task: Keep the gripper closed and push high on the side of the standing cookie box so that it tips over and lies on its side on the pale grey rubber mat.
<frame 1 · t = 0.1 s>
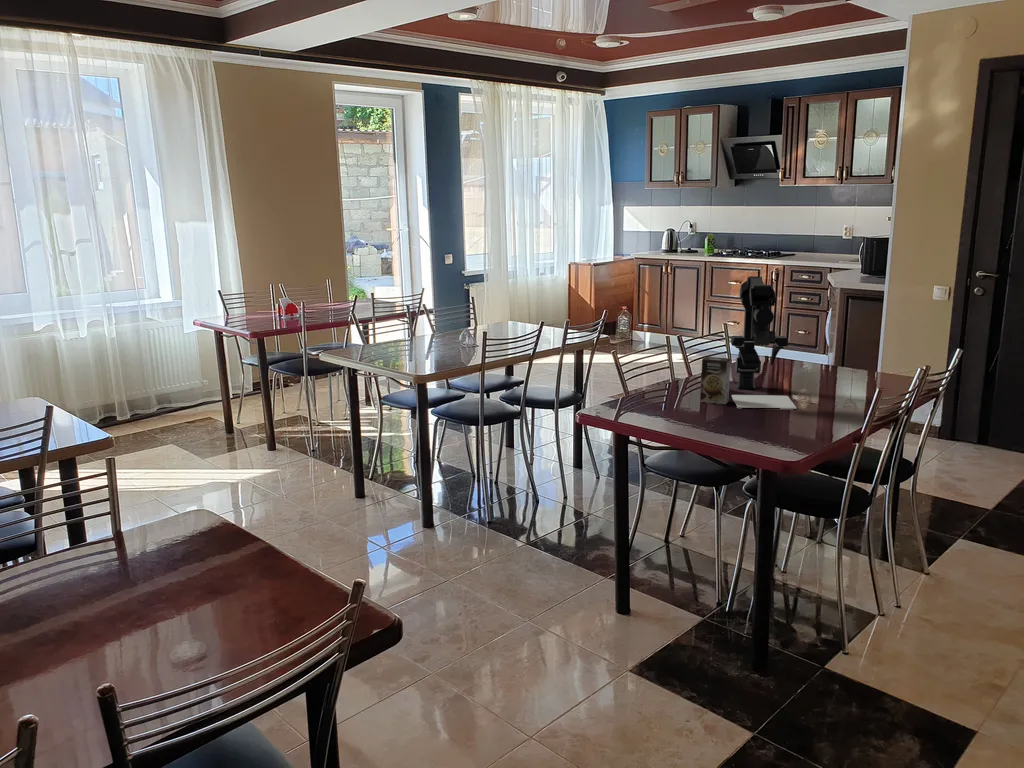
hand: (757, 365, 278), 15 cm above the table, tool pointing down, fingers open, 9 cm apart
cookie box: (714, 402, 287), on the table
mat: (762, 402, 285), on the table
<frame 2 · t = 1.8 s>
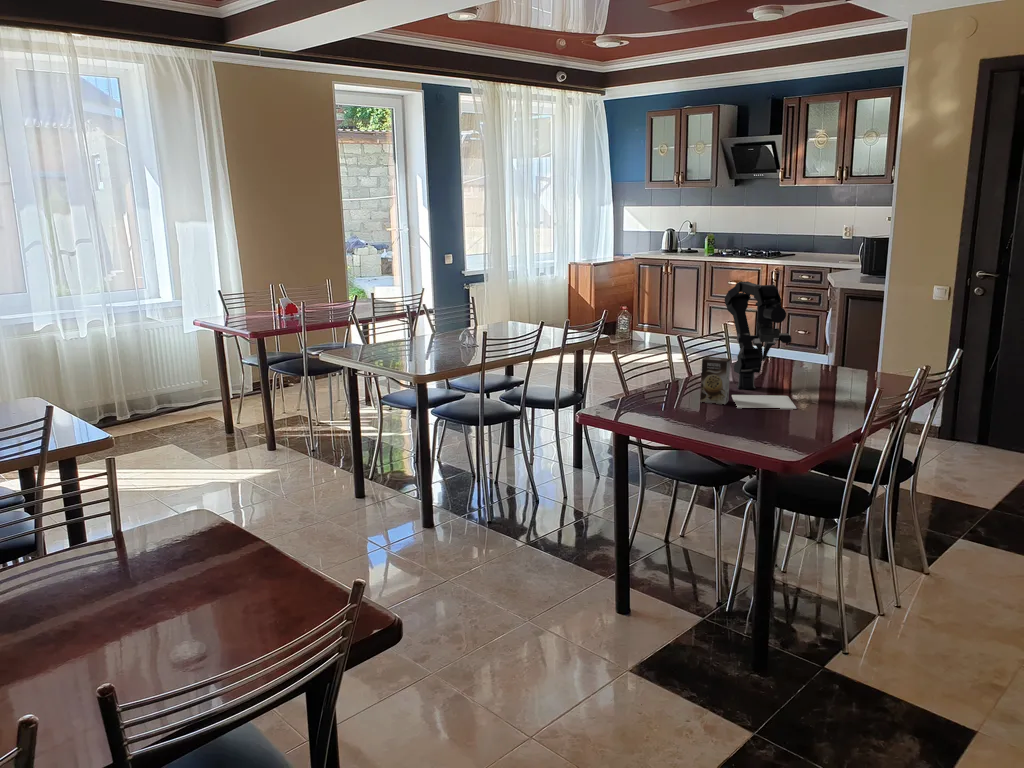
hand: (762, 361, 293), 13 cm above the table, tool pointing down, fingers closed
nothing on the table moved.
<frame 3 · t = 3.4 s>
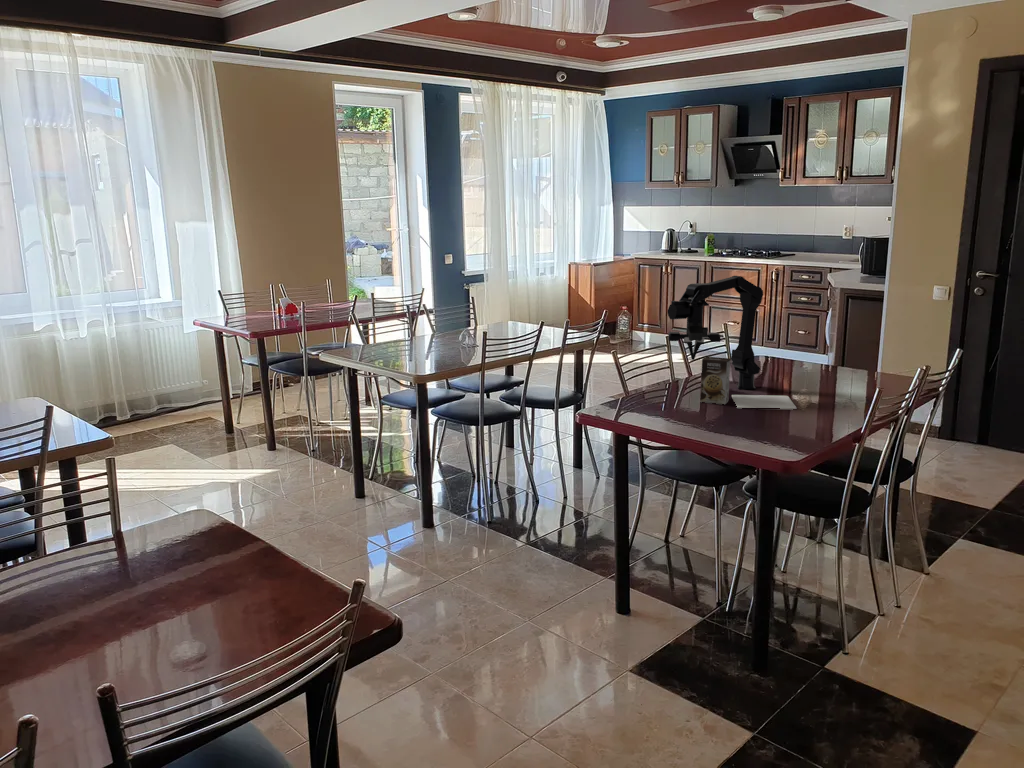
hand: (692, 359, 296), 13 cm above the table, tool pointing down, fingers closed
nothing on the table moved.
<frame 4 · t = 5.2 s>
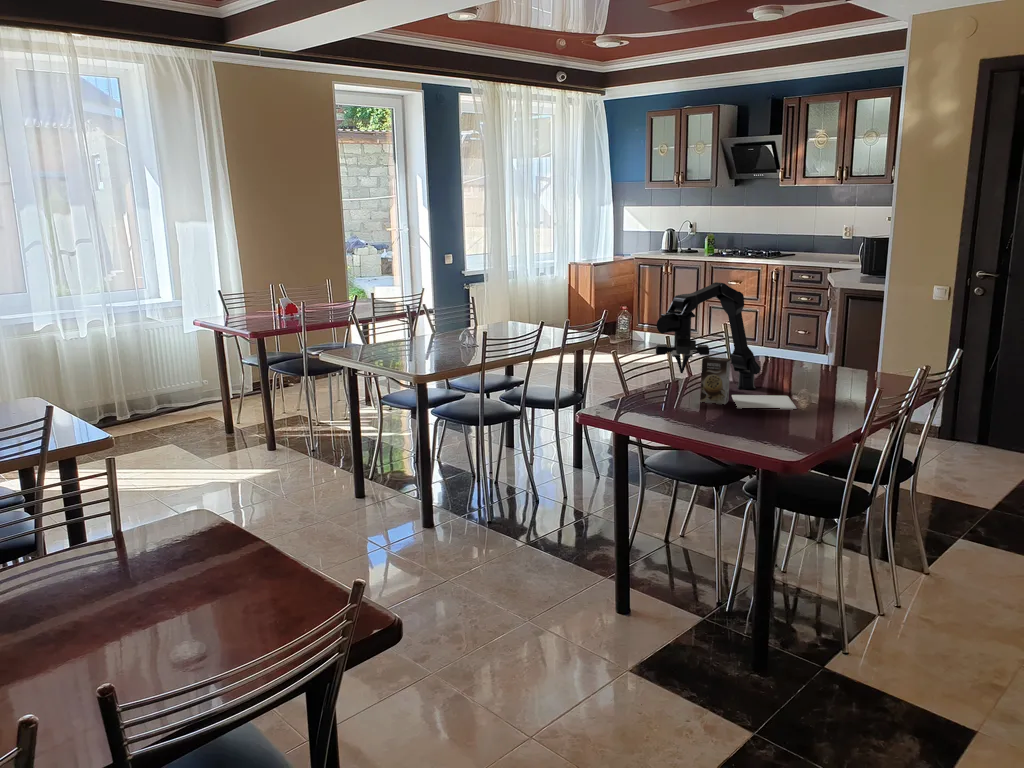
hand: (681, 373, 287), 11 cm above the table, tool pointing down, fingers closed
nothing on the table moved.
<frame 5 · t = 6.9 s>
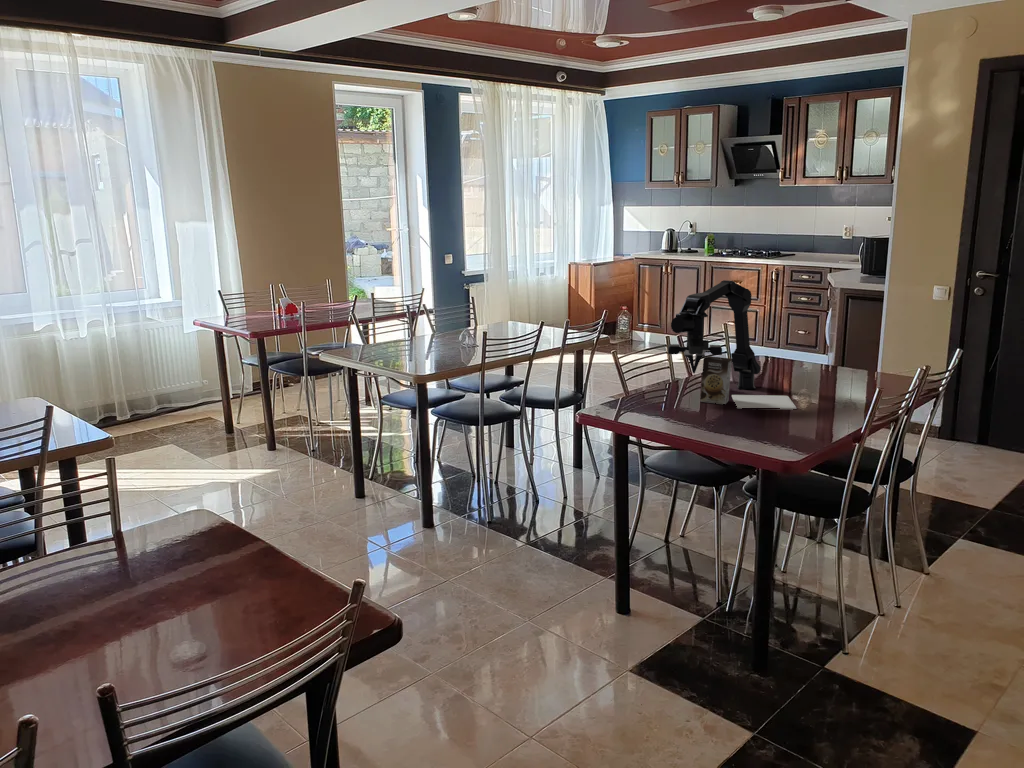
hand: (693, 373, 286), 11 cm above the table, tool pointing down, fingers closed
cookie box: (714, 402, 287), on the table, touching gripper
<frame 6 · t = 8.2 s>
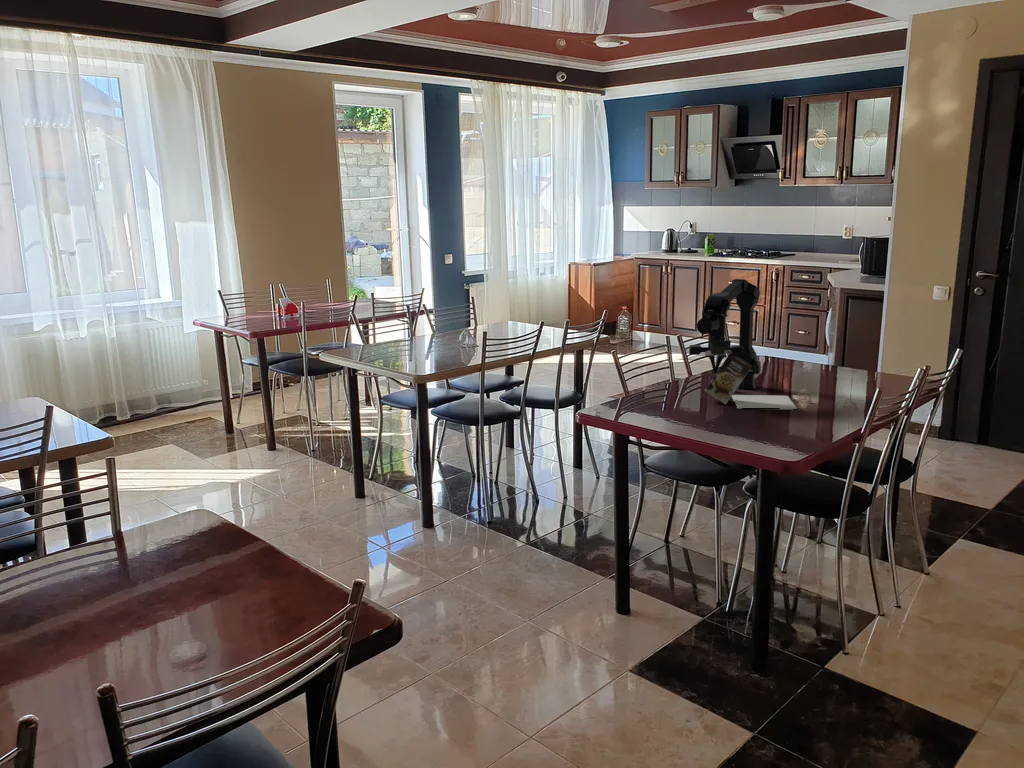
hand: (715, 373, 285), 11 cm above the table, tool pointing down, fingers closed
cookie box: (715, 396, 286), point 2 cm above the table, touching gripper
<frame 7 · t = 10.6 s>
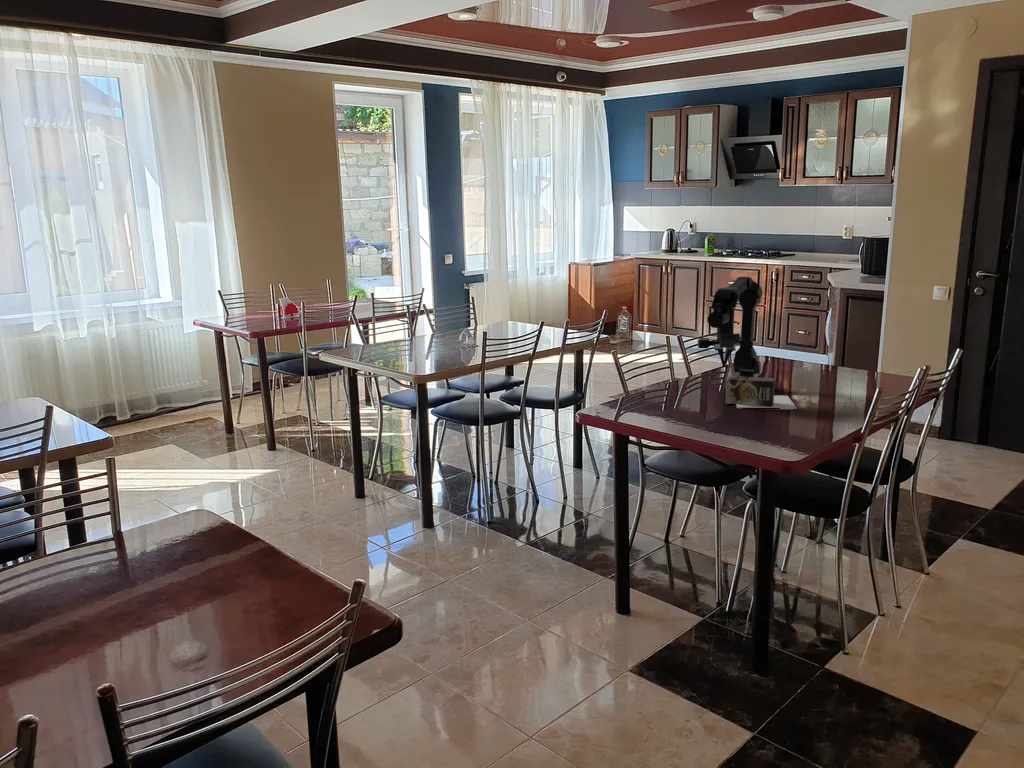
hand: (723, 366, 285), 13 cm above the table, tool pointing down, fingers closed
cookie box: (726, 389, 284), point 5 cm above the table, touching mat
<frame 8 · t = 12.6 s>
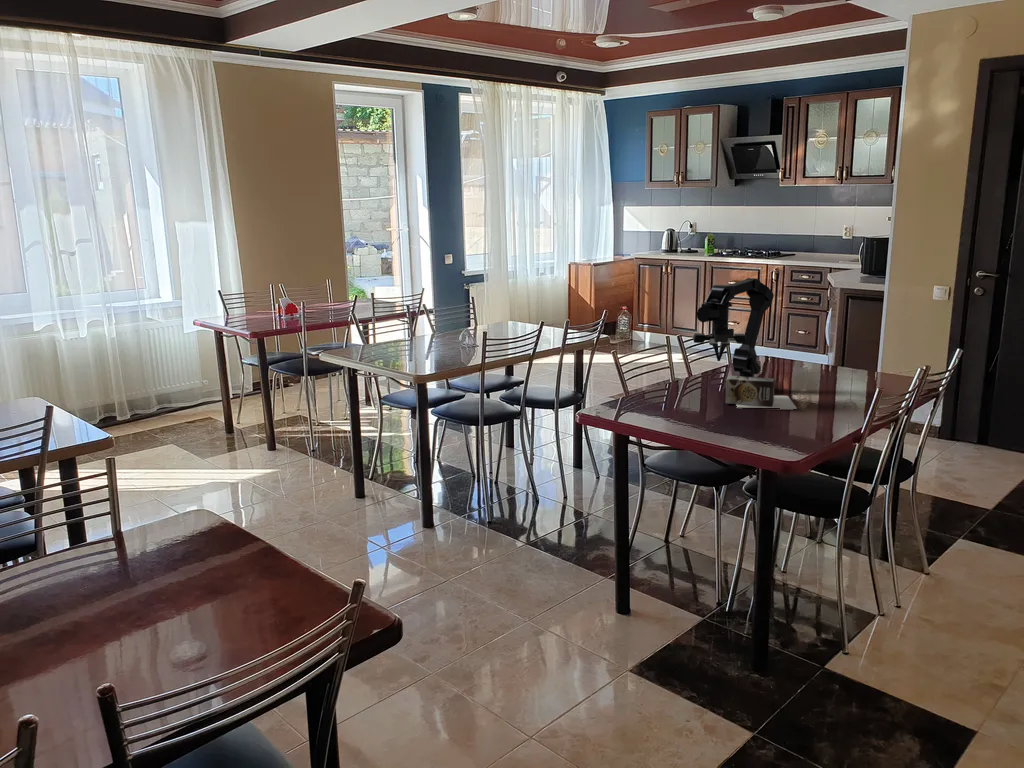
hand: (718, 361, 295), 13 cm above the table, tool pointing down, fingers closed
nothing on the table moved.
at the end: cookie box tilted 89°; cookie box touching mat; the gripper is holding nothing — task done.
